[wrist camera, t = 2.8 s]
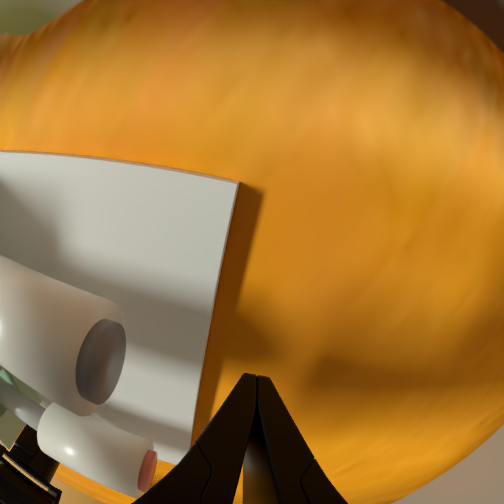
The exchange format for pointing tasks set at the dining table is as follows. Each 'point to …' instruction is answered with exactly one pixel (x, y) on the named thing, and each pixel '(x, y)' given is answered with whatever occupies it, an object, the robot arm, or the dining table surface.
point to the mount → (126, 273)
